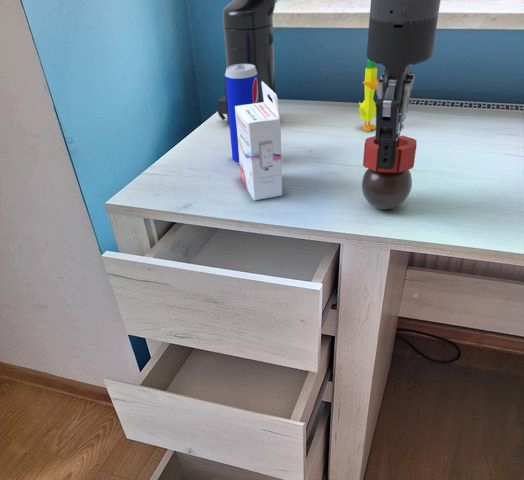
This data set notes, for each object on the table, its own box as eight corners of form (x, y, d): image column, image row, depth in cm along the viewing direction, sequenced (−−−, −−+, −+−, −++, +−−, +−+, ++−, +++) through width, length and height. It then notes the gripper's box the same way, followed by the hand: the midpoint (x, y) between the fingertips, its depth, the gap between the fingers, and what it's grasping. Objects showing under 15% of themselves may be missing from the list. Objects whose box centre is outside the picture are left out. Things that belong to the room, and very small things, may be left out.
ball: (355, 215, 75) (359, 167, 70) (364, 194, 80) (368, 148, 75) (405, 220, 73) (412, 172, 68) (411, 199, 78) (418, 152, 73)
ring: (361, 171, 70) (363, 148, 68) (365, 155, 75) (367, 133, 73) (413, 173, 69) (416, 150, 67) (413, 157, 74) (416, 135, 72)
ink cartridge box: (239, 180, 86) (231, 83, 76) (267, 175, 87) (263, 79, 77) (253, 201, 80) (246, 99, 70) (283, 196, 80) (281, 94, 71)
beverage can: (262, 165, 90) (258, 70, 80) (233, 167, 90) (224, 72, 80) (260, 154, 94) (256, 62, 84) (232, 156, 94) (224, 64, 84)
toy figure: (388, 131, 99) (396, 61, 92) (375, 136, 98) (382, 65, 90) (363, 123, 104) (368, 55, 96) (350, 127, 102) (354, 59, 94)
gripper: (380, 1, 64) (368, 143, 75) (358, 23, 54) (348, 182, 66) (443, 1, 62) (421, 147, 73) (432, 24, 52) (408, 188, 64)
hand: (386, 163), depth 69 cm, fingers closed
